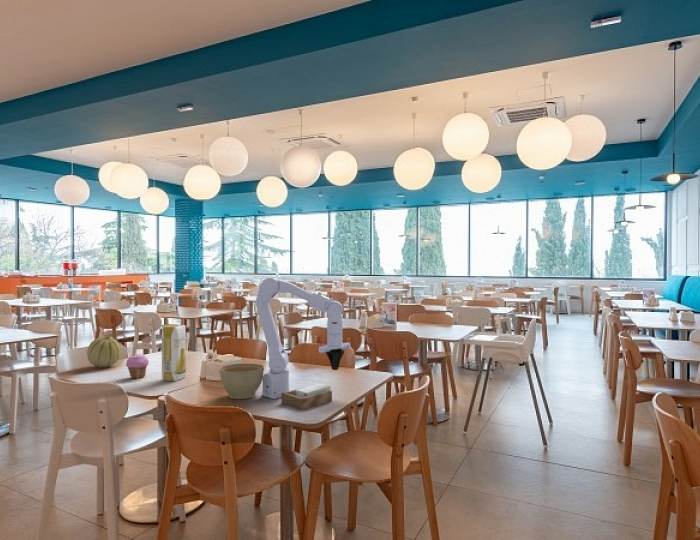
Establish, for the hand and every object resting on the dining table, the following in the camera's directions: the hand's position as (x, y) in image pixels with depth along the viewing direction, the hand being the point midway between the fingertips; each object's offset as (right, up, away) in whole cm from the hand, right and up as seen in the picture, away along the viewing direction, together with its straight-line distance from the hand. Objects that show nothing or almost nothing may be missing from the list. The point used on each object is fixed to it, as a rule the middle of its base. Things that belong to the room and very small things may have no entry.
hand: (335, 369), depth 177 cm
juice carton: (-70, -10, +25) cm, 75 cm away
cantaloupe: (-112, -9, +49) cm, 123 cm away
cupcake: (-87, -10, +28) cm, 92 cm away
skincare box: (-3, -7, -4) cm, 8 cm away
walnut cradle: (-10, -10, -10) cm, 17 cm away
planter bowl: (-34, -10, -2) cm, 36 cm away
